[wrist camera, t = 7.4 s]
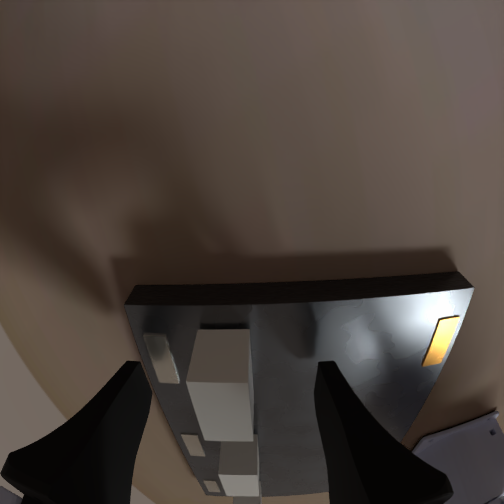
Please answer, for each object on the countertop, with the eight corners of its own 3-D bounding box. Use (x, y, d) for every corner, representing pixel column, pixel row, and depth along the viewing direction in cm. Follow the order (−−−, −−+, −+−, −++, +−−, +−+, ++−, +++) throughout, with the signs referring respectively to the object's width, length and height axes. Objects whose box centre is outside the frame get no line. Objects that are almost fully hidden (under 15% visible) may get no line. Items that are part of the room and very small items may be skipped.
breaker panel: (458, 271, 12) (475, 288, 11) (367, 471, 22) (369, 485, 20) (135, 285, 13) (123, 306, 11) (207, 481, 22) (206, 496, 21)
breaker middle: (257, 434, 15) (257, 475, 12) (259, 461, 17) (259, 496, 14) (221, 434, 15) (218, 474, 13) (228, 461, 17) (226, 495, 14)
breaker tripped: (249, 329, 11) (248, 382, 9) (253, 393, 13) (253, 441, 11) (197, 329, 12) (185, 381, 9) (210, 393, 13) (204, 440, 11)
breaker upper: (260, 481, 18) (260, 510, 16) (261, 495, 20) (261, 521, 18) (234, 481, 18) (232, 510, 16) (238, 495, 20) (237, 521, 18)
